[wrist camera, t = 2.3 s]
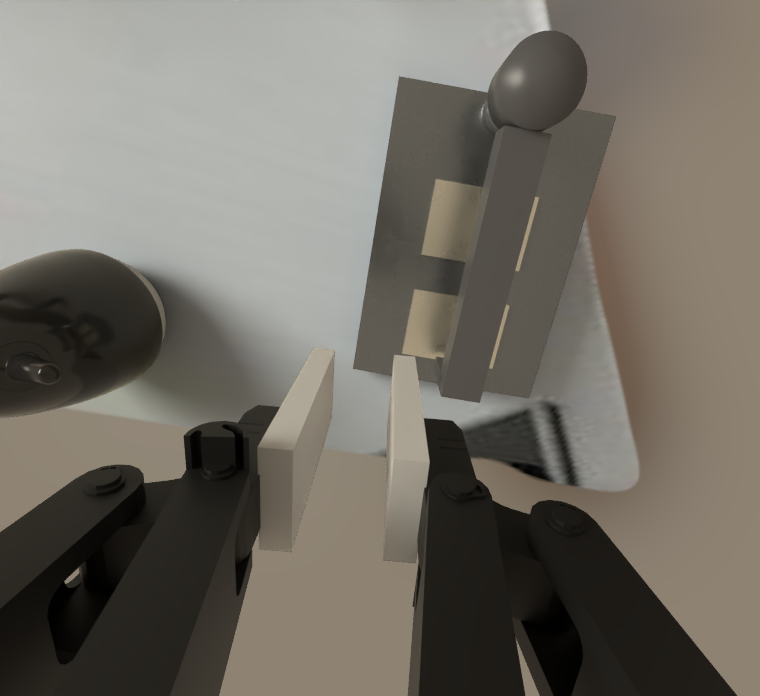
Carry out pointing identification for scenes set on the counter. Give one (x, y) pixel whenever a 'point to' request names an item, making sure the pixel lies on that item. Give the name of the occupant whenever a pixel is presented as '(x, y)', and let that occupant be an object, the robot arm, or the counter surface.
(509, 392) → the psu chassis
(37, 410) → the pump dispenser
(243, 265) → the counter surface
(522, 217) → the lever
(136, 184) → the counter surface
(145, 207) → the counter surface
